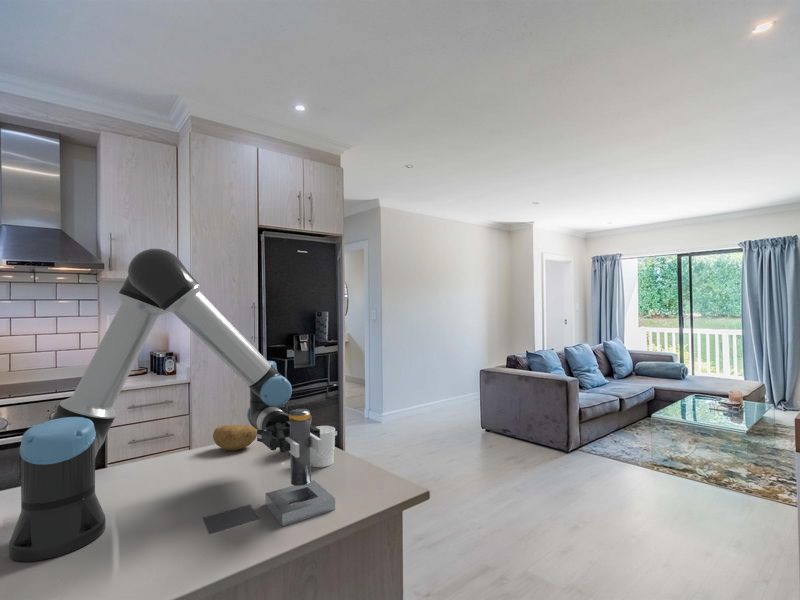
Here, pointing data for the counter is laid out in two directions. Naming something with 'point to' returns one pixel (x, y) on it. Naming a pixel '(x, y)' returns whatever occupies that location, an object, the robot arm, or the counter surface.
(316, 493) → the socket
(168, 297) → the robot arm
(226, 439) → the potato
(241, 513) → the mount
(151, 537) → the counter surface
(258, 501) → the counter surface
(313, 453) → the white cup
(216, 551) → the counter surface
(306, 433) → the cylinder
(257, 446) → the counter surface
